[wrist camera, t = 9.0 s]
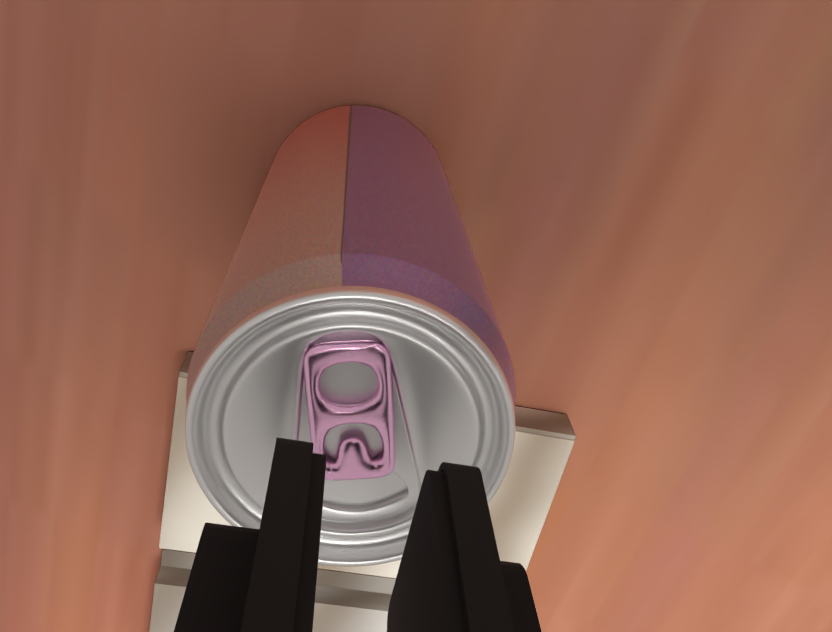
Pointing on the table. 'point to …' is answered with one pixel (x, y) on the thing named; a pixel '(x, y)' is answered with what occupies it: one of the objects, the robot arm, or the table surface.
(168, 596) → the floorboard
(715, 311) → the table surface
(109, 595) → the table surface
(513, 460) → the plank
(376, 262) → the beverage can
